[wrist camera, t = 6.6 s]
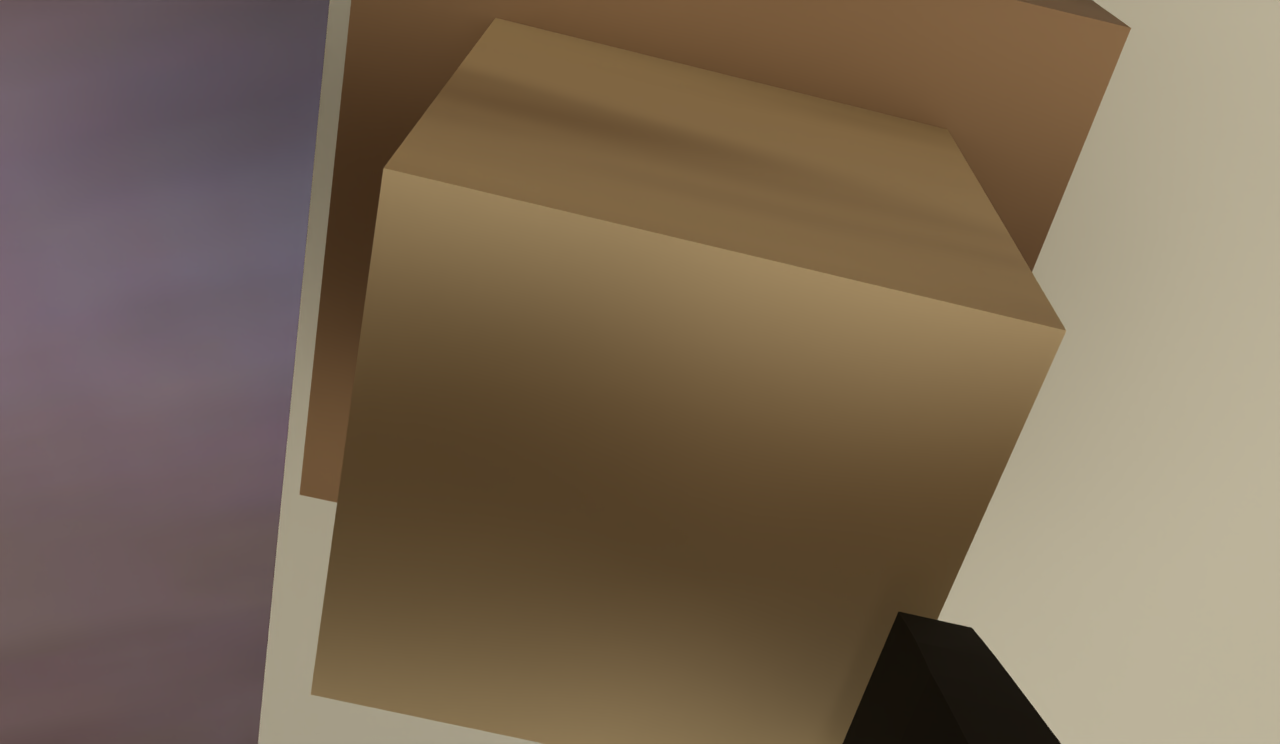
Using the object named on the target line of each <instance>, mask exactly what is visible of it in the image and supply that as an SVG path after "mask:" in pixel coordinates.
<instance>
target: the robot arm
mask: <svg viewBox="0 0 1280 744" xmlns="http://www.w3.org/2000/svg"><path fill="white" fill-rule="evenodd" d="M843 744H1061V743H1060V741H1059V740H1058V739H1057V737H1056V736H1055V735H1054V733H1053V732H1052V731H1051V729H1050V728H1049V727H1048V725H1047V724H1046V723H1045V721H1044V720H1043V719H1042V717H1041V716H1040V715H1039V713H1038V712H1037V711H1036V709H1035V708H1034V707H1033V705H1032V704H1031V703H1030V701H1029V700H1028V699H1027V697H1026V696H1025V695H1024V693H1023V692H1022V691H1021V689H1020V688H1019V687H1018V685H1017V684H1016V683H1015V682H1014V680H1013V679H1012V678H1011V676H1010V675H1009V674H1008V672H1007V671H1006V670H1005V668H1004V667H1003V666H1002V664H1001V663H1000V662H999V660H998V659H997V658H996V657H995V655H994V654H993V653H992V651H991V650H990V649H989V648H988V646H987V645H986V644H985V643H984V642H983V640H982V639H981V638H980V637H979V635H978V634H977V633H976V632H975V631H974V629H973V628H972V627H967V626H962V625H958V624H953V623H949V622H944V621H940V620H935V619H931V618H926V617H922V616H917V615H913V614H908V613H904V612H899V611H898V614H897V616H896V618H895V621H894V623H893V625H892V628H891V630H890V632H889V635H888V637H887V640H886V642H885V644H884V647H883V649H882V651H881V654H880V656H879V658H878V661H877V663H876V666H875V668H874V670H873V673H872V675H871V677H870V680H869V682H868V684H867V687H866V689H865V692H864V694H863V696H862V699H861V701H860V703H859V706H858V708H857V711H856V713H855V715H854V718H853V720H852V722H851V725H850V727H849V729H848V732H847V734H846V737H845V739H844V741H843Z"/></svg>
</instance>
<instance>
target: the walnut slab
mask: <svg viewBox="0 0 1280 744" xmlns="http://www.w3.org/2000/svg"><path fill="white" fill-rule="evenodd" d="M495 18H498V19H503V20H507V21H511V22H515V23H519V24H523V25H527V26H531V27H535V28H539V29H543V30H547V31H551V32H555V33H559V34H563V35H567V36H571V37H575V38H579V39H583V40H587V41H591V42H596V43H600V44H604V45H608V46H612V47H616V48H620V49H624V50H628V51H632V52H636V53H640V54H644V55H648V56H652V57H656V58H660V59H664V60H668V61H672V62H676V63H680V64H685V65H689V66H693V67H697V68H701V69H705V70H709V71H713V72H717V73H721V74H725V75H729V76H733V77H737V78H741V79H745V80H749V81H753V82H757V83H761V84H765V85H769V86H774V87H778V88H782V89H786V90H790V91H794V92H798V93H802V94H806V95H810V96H814V97H818V98H822V99H826V100H830V101H834V102H838V103H842V104H846V105H850V106H854V107H858V108H862V109H867V110H871V111H875V112H879V113H883V114H887V115H891V116H895V117H899V118H903V119H907V120H911V121H915V122H919V123H923V124H927V125H931V126H935V127H939V128H943V129H947V130H948V131H949V133H950V134H951V136H952V138H953V139H954V141H955V143H956V145H957V146H958V148H959V150H960V151H961V153H962V155H963V156H964V158H965V160H966V161H967V163H968V165H969V167H970V168H971V170H972V172H973V173H974V175H975V177H976V178H977V180H978V182H979V183H980V185H981V187H982V189H983V190H984V192H985V194H986V195H987V197H988V199H989V200H990V202H991V204H992V206H993V207H994V209H995V211H996V212H997V214H998V216H999V217H1000V219H1001V221H1002V222H1003V224H1004V226H1005V228H1006V229H1007V231H1008V233H1009V234H1010V236H1011V238H1012V239H1013V241H1014V243H1015V244H1016V246H1017V248H1018V250H1019V251H1020V253H1021V255H1022V256H1023V258H1024V260H1025V261H1026V263H1027V265H1028V267H1029V268H1030V270H1031V272H1032V271H1033V268H1034V266H1035V264H1036V261H1037V259H1038V256H1039V254H1040V251H1041V249H1042V246H1043V244H1044V241H1045V239H1046V236H1047V234H1048V232H1049V229H1050V227H1051V224H1052V222H1053V219H1054V217H1055V214H1056V212H1057V209H1058V207H1059V204H1060V202H1061V200H1062V197H1063V195H1064V192H1065V190H1066V187H1067V185H1068V182H1069V180H1070V177H1071V175H1072V172H1073V170H1074V168H1075V165H1076V163H1077V160H1078V158H1079V155H1080V153H1081V150H1082V148H1083V145H1084V143H1085V140H1086V138H1087V136H1088V133H1089V131H1090V128H1091V126H1092V123H1093V121H1094V118H1095V116H1096V113H1097V111H1098V108H1099V106H1100V104H1101V101H1102V99H1103V96H1104V94H1105V91H1106V89H1107V86H1108V84H1109V81H1110V79H1111V76H1112V74H1113V72H1114V69H1115V67H1116V64H1117V62H1118V59H1119V57H1120V54H1121V52H1122V49H1123V47H1124V44H1125V42H1126V40H1127V37H1128V35H1129V32H1130V30H1131V27H1129V26H1128V25H1126V24H1125V23H1124V22H1122V21H1121V20H1119V19H1118V18H1116V17H1115V16H1114V15H1112V14H1111V13H1109V12H1108V11H1107V10H1105V9H1104V8H1102V7H1101V6H1100V5H1098V4H1097V3H1095V2H1094V1H1093V0H351V7H350V17H349V26H348V36H347V45H346V55H345V65H344V74H343V84H342V93H341V103H340V112H339V122H338V131H337V141H336V150H335V160H334V170H333V179H332V189H331V198H330V208H329V217H328V227H327V236H326V246H325V256H324V265H323V275H322V284H321V294H320V303H319V313H318V322H317V332H316V341H315V351H314V361H313V370H312V380H311V389H310V399H309V408H308V418H307V427H306V437H305V446H304V456H303V466H302V475H301V485H300V494H299V495H303V496H308V497H313V498H317V499H322V500H327V501H332V502H336V503H337V500H338V493H339V486H340V478H341V471H342V464H343V457H344V449H345V442H346V435H347V428H348V421H349V413H350V406H351V399H352V392H353V384H354V377H355V370H356V363H357V356H358V348H359V341H360V334H361V327H362V319H363V312H364V305H365V298H366V291H367V283H368V276H369V269H370V262H371V254H372V247H373V240H374V233H375V226H376V218H377V211H378V204H379V197H380V189H381V182H382V175H383V168H384V167H385V165H386V164H387V163H388V161H389V160H390V159H391V157H392V156H393V155H394V153H395V152H396V151H397V149H398V148H399V147H400V145H401V144H402V143H403V141H404V140H405V138H406V137H407V136H408V134H409V133H410V132H411V130H412V129H413V128H414V126H415V125H416V124H417V122H418V121H419V120H420V118H421V117H422V116H423V114H424V113H425V112H426V110H427V109H428V108H429V106H430V105H431V104H432V102H433V101H434V100H435V98H436V97H437V96H438V94H439V93H440V92H441V90H442V89H443V88H444V86H445V85H446V83H447V82H448V81H449V79H450V78H451V77H452V75H453V74H454V73H455V71H456V70H457V69H458V67H459V66H460V65H461V63H462V62H463V61H464V59H465V58H466V57H467V55H468V54H469V53H470V51H471V50H472V49H473V47H474V46H475V45H476V43H477V42H478V41H479V39H480V38H481V37H482V35H483V34H484V33H485V31H486V30H487V29H488V27H489V26H490V24H491V23H492V22H493V20H494V19H495Z"/></svg>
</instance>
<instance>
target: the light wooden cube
mask: <svg viewBox="0 0 1280 744" xmlns="http://www.w3.org/2000/svg"><path fill="white" fill-rule="evenodd" d="M1065 333H1066V329H1065V327H1064V326H1063V324H1062V322H1061V321H1060V319H1059V317H1058V316H1057V314H1056V312H1055V311H1054V309H1053V307H1052V305H1051V304H1050V302H1049V300H1048V299H1047V297H1046V295H1045V294H1044V292H1043V290H1042V289H1041V287H1040V285H1039V283H1038V282H1037V280H1036V278H1035V277H1034V275H1033V273H1032V272H1031V270H1030V268H1029V267H1028V265H1027V263H1026V261H1025V260H1024V258H1023V256H1022V255H1021V253H1020V251H1019V250H1018V248H1017V246H1016V244H1015V243H1014V241H1013V239H1012V238H1011V236H1010V234H1009V233H1008V231H1007V229H1006V228H1005V226H1004V224H1003V222H1002V221H1001V219H1000V217H999V216H998V214H997V212H996V211H995V209H994V207H993V206H992V204H991V202H990V200H989V199H988V197H987V195H986V194H985V192H984V190H983V189H982V187H981V185H980V183H979V182H978V180H977V178H976V177H975V175H974V173H973V172H972V170H971V168H970V167H969V165H968V163H967V161H966V160H965V158H964V156H963V155H962V153H961V151H960V150H959V148H958V146H957V145H956V143H955V141H954V139H953V138H952V136H951V134H950V133H949V131H948V130H947V129H943V128H939V127H935V126H931V125H927V124H923V123H919V122H915V121H911V120H907V119H903V118H899V117H895V116H891V115H887V114H883V113H879V112H875V111H871V110H867V109H862V108H858V107H854V106H850V105H846V104H842V103H838V102H834V101H830V100H826V99H822V98H818V97H814V96H810V95H806V94H802V93H798V92H794V91H790V90H786V89H782V88H778V87H774V86H769V85H765V84H761V83H757V82H753V81H749V80H745V79H741V78H737V77H733V76H729V75H725V74H721V73H717V72H713V71H709V70H705V69H701V68H697V67H693V66H689V65H685V64H680V63H676V62H672V61H668V60H664V59H660V58H656V57H652V56H648V55H644V54H640V53H636V52H632V51H628V50H624V49H620V48H616V47H612V46H608V45H604V44H600V43H596V42H591V41H587V40H583V39H579V38H575V37H571V36H567V35H563V34H559V33H555V32H551V31H547V30H543V29H539V28H535V27H531V26H527V25H523V24H519V23H515V22H511V21H507V20H503V19H498V18H495V19H494V20H493V22H492V23H491V24H490V26H489V27H488V29H487V30H486V31H485V33H484V34H483V35H482V37H481V38H480V39H479V41H478V42H477V43H476V45H475V46H474V47H473V49H472V50H471V51H470V53H469V54H468V55H467V57H466V58H465V59H464V61H463V62H462V63H461V65H460V66H459V67H458V69H457V70H456V71H455V73H454V74H453V75H452V77H451V78H450V79H449V81H448V82H447V83H446V85H445V86H444V88H443V89H442V90H441V92H440V93H439V94H438V96H437V97H436V98H435V100H434V101H433V102H432V104H431V105H430V106H429V108H428V109H427V110H426V112H425V113H424V114H423V116H422V117H421V118H420V120H419V121H418V122H417V124H416V125H415V126H414V128H413V129H412V130H411V132H410V133H409V134H408V136H407V137H406V138H405V140H404V141H403V143H402V144H401V145H400V147H399V148H398V149H397V151H396V152H395V153H394V155H393V156H392V157H391V159H390V160H389V161H388V163H387V164H386V165H385V167H384V168H383V175H382V182H381V189H380V197H379V204H378V211H377V218H376V226H375V233H374V240H373V247H372V254H371V262H370V269H369V276H368V283H367V291H366V298H365V305H364V312H363V319H362V327H361V334H360V341H359V348H358V356H357V363H356V370H355V377H354V384H353V392H352V399H351V406H350V413H349V421H348V428H347V435H346V442H345V449H344V457H343V464H342V471H341V478H340V486H339V493H338V500H337V507H336V514H335V522H334V529H333V536H332V543H331V551H330V558H329V565H328V572H327V579H326V587H325V594H324V601H323V608H322V616H321V623H320V630H319V637H318V644H317V652H316V659H315V666H314V673H313V681H312V688H311V695H315V696H320V697H325V698H329V699H334V700H339V701H344V702H348V703H353V704H358V705H363V706H367V707H372V708H377V709H382V710H386V711H391V712H396V713H401V714H405V715H410V716H415V717H420V718H424V719H429V720H434V721H439V722H443V723H448V724H453V725H458V726H462V727H467V728H472V729H477V730H481V731H486V732H491V733H496V734H500V735H505V736H510V737H515V738H519V739H524V740H529V741H534V742H538V743H543V744H843V741H844V739H845V737H846V734H847V732H848V729H849V727H850V725H851V722H852V720H853V718H854V715H855V713H856V711H857V708H858V706H859V703H860V701H861V699H862V696H863V694H864V692H865V689H866V687H867V684H868V682H869V680H870V677H871V675H872V673H873V670H874V668H875V666H876V663H877V661H878V658H879V656H880V654H881V651H882V649H883V647H884V644H885V642H886V640H887V637H888V635H889V632H890V630H891V628H892V625H893V623H894V621H895V618H896V616H897V614H898V611H899V612H904V613H908V614H913V615H917V616H922V617H926V618H931V619H935V620H937V619H938V617H939V615H940V613H941V610H942V608H943V606H944V604H945V601H946V599H947V597H948V595H949V592H950V590H951V588H952V586H953V583H954V581H955V579H956V577H957V574H958V572H959V570H960V568H961V566H962V563H963V561H964V559H965V557H966V554H967V552H968V550H969V548H970V545H971V543H972V541H973V539H974V536H975V534H976V532H977V530H978V527H979V525H980V523H981V521H982V518H983V516H984V514H985V512H986V510H987V507H988V505H989V503H990V501H991V498H992V496H993V494H994V492H995V489H996V487H997V485H998V483H999V480H1000V478H1001V476H1002V474H1003V471H1004V469H1005V467H1006V465H1007V462H1008V460H1009V458H1010V456H1011V454H1012V451H1013V449H1014V447H1015V445H1016V442H1017V440H1018V438H1019V436H1020V433H1021V431H1022V429H1023V427H1024V424H1025V422H1026V420H1027V418H1028V415H1029V413H1030V411H1031V409H1032V407H1033V404H1034V402H1035V400H1036V398H1037V395H1038V393H1039V391H1040V389H1041V386H1042V384H1043V382H1044V380H1045V377H1046V375H1047V373H1048V371H1049V368H1050V366H1051V364H1052V362H1053V359H1054V357H1055V355H1056V353H1057V351H1058V348H1059V346H1060V344H1061V342H1062V339H1063V337H1064V335H1065Z"/></svg>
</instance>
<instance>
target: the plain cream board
mask: <svg viewBox="0 0 1280 744" xmlns="http://www.w3.org/2000/svg"><path fill="white" fill-rule="evenodd" d="M1093 1H1094V2H1095V3H1097V4H1098V5H1100V6H1101V7H1102V8H1104V9H1105V10H1107V11H1108V12H1109V13H1111V14H1112V15H1114V16H1115V17H1116V18H1118V19H1119V20H1121V21H1122V22H1124V23H1125V24H1126V25H1128V26H1129V27H1131V30H1130V32H1129V35H1128V37H1127V40H1126V42H1125V44H1124V47H1123V49H1122V52H1121V54H1120V57H1119V59H1118V62H1117V64H1116V67H1115V69H1114V72H1113V74H1112V76H1111V79H1110V81H1109V84H1108V86H1107V89H1106V91H1105V94H1104V96H1103V99H1102V101H1101V104H1100V106H1099V108H1098V111H1097V113H1096V116H1095V118H1094V121H1093V123H1092V126H1091V128H1090V131H1089V133H1088V136H1087V138H1086V140H1085V143H1084V145H1083V148H1082V150H1081V153H1080V155H1079V158H1078V160H1077V163H1076V165H1075V168H1074V170H1073V172H1072V175H1071V177H1070V180H1069V182H1068V185H1067V187H1066V190H1065V192H1064V195H1063V197H1062V200H1061V202H1060V204H1059V207H1058V209H1057V212H1056V214H1055V217H1054V219H1053V222H1052V224H1051V227H1050V229H1049V232H1048V234H1047V236H1046V239H1045V241H1044V244H1043V246H1042V249H1041V251H1040V254H1039V256H1038V259H1037V261H1036V264H1035V266H1034V268H1033V271H1032V273H1033V275H1034V277H1035V278H1036V280H1037V282H1038V283H1039V285H1040V287H1041V289H1042V290H1043V292H1044V294H1045V295H1046V297H1047V299H1048V300H1049V302H1050V304H1051V305H1052V307H1053V309H1054V311H1055V312H1056V314H1057V316H1058V317H1059V319H1060V321H1061V322H1062V324H1063V326H1064V327H1065V329H1066V333H1065V335H1064V337H1063V339H1062V342H1061V344H1060V346H1059V348H1058V351H1057V353H1056V355H1055V357H1054V359H1053V362H1052V364H1051V366H1050V368H1049V371H1048V373H1047V375H1046V377H1045V380H1044V382H1043V384H1042V386H1041V389H1040V391H1039V393H1038V395H1037V398H1036V400H1035V402H1034V404H1033V407H1032V409H1031V411H1030V413H1029V415H1028V418H1027V420H1026V422H1025V424H1024V427H1023V429H1022V431H1021V433H1020V436H1019V438H1018V440H1017V442H1016V445H1015V447H1014V449H1013V451H1012V454H1011V456H1010V458H1009V460H1008V462H1007V465H1006V467H1005V469H1004V471H1003V474H1002V476H1001V478H1000V480H999V483H998V485H997V487H996V489H995V492H994V494H993V496H992V498H991V501H990V503H989V505H988V507H987V510H986V512H985V514H984V516H983V518H982V521H981V523H980V525H979V527H978V530H977V532H976V534H975V536H974V539H973V541H972V543H971V545H970V548H969V550H968V552H967V554H966V557H965V559H964V561H963V563H962V566H961V568H960V570H959V572H958V574H957V577H956V579H955V581H954V583H953V586H952V588H951V590H950V592H949V595H948V597H947V599H946V601H945V604H944V606H943V608H942V610H941V613H940V615H939V617H938V619H937V620H940V621H944V622H949V623H953V624H958V625H962V626H967V627H972V628H973V629H974V631H975V632H976V633H977V634H978V635H979V637H980V638H981V639H982V640H983V642H984V643H985V644H986V645H987V646H988V648H989V649H990V650H991V651H992V653H993V654H994V655H995V657H996V658H997V659H998V660H999V662H1000V663H1001V664H1002V666H1003V667H1004V668H1005V670H1006V671H1007V672H1008V674H1009V675H1010V676H1011V678H1012V679H1013V680H1014V682H1015V683H1016V684H1017V685H1018V687H1019V688H1020V689H1021V691H1022V692H1023V693H1024V695H1025V696H1026V697H1027V699H1028V700H1029V701H1030V703H1031V704H1032V705H1033V707H1034V708H1035V709H1036V711H1037V712H1038V713H1039V715H1040V716H1041V717H1042V719H1043V720H1044V721H1045V723H1046V724H1047V725H1048V727H1049V728H1050V729H1051V731H1052V732H1053V733H1054V735H1055V736H1056V737H1057V739H1058V740H1059V741H1060V743H1061V744H1280V0H1093ZM350 7H351V0H330V2H329V13H328V23H327V33H326V44H325V54H324V64H323V75H322V85H321V96H320V106H319V116H318V127H317V137H316V147H315V158H314V168H313V178H312V189H311V199H310V210H309V220H308V230H307V241H306V251H305V261H304V272H303V282H302V292H301V303H300V313H299V323H298V334H297V344H296V355H295V365H294V375H293V386H292V396H291V406H290V417H289V427H288V437H287V448H286V458H285V468H284V479H283V489H282V500H281V510H280V520H279V531H278V541H277V551H276V562H275V572H274V582H273V593H272V603H271V614H270V624H269V634H268V645H267V655H266V665H265V676H264V686H263V696H262V707H261V717H260V727H259V738H258V744H543V743H538V742H534V741H529V740H524V739H519V738H515V737H510V736H505V735H500V734H496V733H491V732H486V731H481V730H477V729H472V728H467V727H462V726H458V725H453V724H448V723H443V722H439V721H434V720H429V719H424V718H420V717H415V716H410V715H405V714H401V713H396V712H391V711H386V710H382V709H377V708H372V707H367V706H363V705H358V704H353V703H348V702H344V701H339V700H334V699H329V698H325V697H320V696H315V695H311V688H312V681H313V673H314V666H315V659H316V652H317V644H318V637H319V630H320V623H321V616H322V608H323V601H324V594H325V587H326V579H327V572H328V565H329V558H330V551H331V543H332V536H333V529H334V522H335V514H336V507H337V503H336V502H332V501H327V500H322V499H317V498H313V497H308V496H303V495H299V494H300V485H301V475H302V466H303V456H304V446H305V437H306V427H307V418H308V408H309V399H310V389H311V380H312V370H313V361H314V351H315V341H316V332H317V322H318V313H319V303H320V294H321V284H322V275H323V265H324V256H325V246H326V236H327V227H328V217H329V208H330V198H331V189H332V179H333V170H334V160H335V150H336V141H337V131H338V122H339V112H340V103H341V93H342V84H343V74H344V65H345V55H346V45H347V36H348V26H349V17H350Z"/></svg>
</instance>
